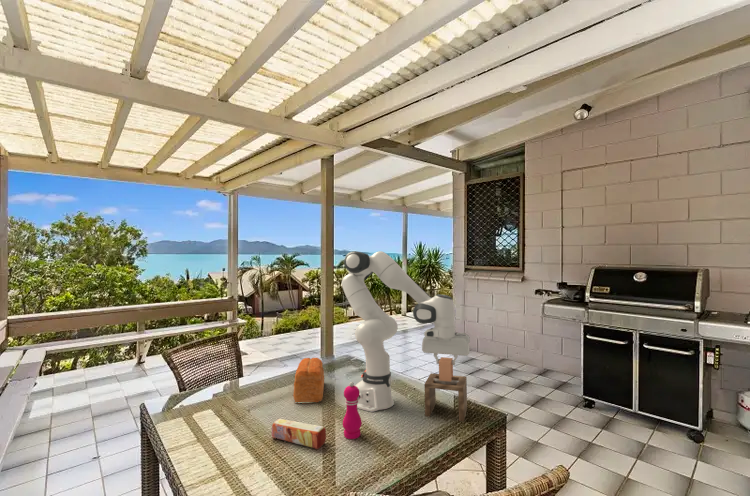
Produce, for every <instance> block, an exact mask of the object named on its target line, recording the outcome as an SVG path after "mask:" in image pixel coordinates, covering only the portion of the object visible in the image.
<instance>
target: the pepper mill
mask: <svg viewBox="0 0 750 496" xmlns="http://www.w3.org/2000/svg"><path fill="white" fill-rule="evenodd" d="M359 394H360V392H359V389H358V387H356V386H355V383H354V381H350V382H349V384H348V385H347V386H346V387H345V388H344V390H343V396H344V398H345V399H344V401H346V402H344V403H346V405H345V406H346V411H345V414H344V417H343V419H342V427H343V429H344V430H343V436H344V438H345V439H348V440H355V439H358V438H360V437H361V434H362V433H361V427H362V424H363V423H362V418H361V415H360V413H359V410H358V408H357V404H358V397H359Z"/></svg>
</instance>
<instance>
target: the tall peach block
mask: <svg viewBox="0 0 750 496" xmlns="http://www.w3.org/2000/svg"><path fill="white" fill-rule="evenodd" d="M439 359H440V360H439V364H438V374H439V380H440V381H450V382H451V381H452V378H453V376H454V365H451V361H452V360H454V358H453V357H444V356H441V357H440V358H439Z"/></svg>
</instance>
